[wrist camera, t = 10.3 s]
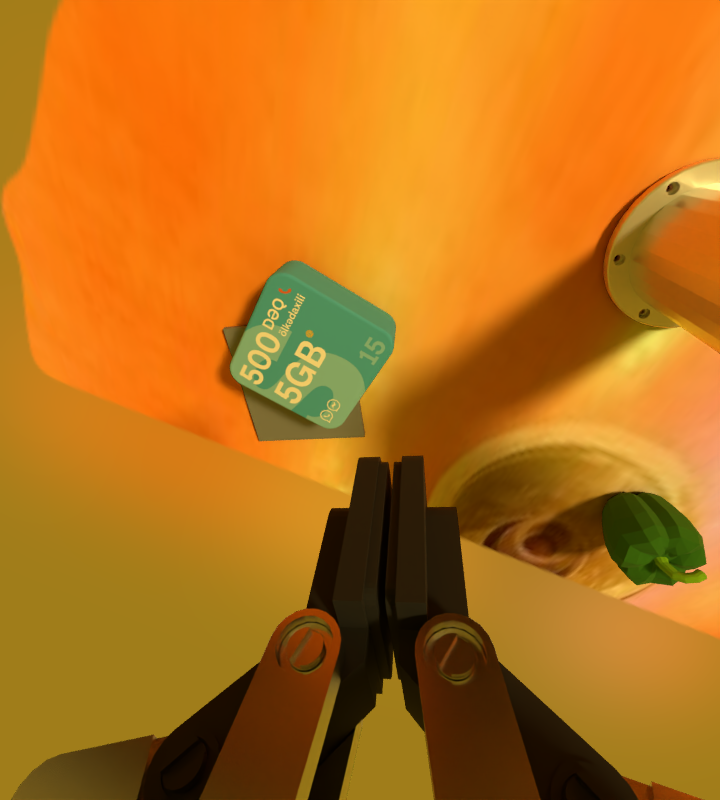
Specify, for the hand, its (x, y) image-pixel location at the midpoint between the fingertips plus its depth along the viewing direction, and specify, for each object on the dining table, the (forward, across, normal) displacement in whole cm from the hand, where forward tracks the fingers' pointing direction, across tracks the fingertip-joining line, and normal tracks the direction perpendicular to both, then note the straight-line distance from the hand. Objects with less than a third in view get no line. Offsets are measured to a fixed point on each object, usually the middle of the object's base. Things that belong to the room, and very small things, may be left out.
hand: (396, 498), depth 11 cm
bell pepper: (+29, -23, +31) cm, 48 cm away
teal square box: (+26, +5, +11) cm, 29 cm away
